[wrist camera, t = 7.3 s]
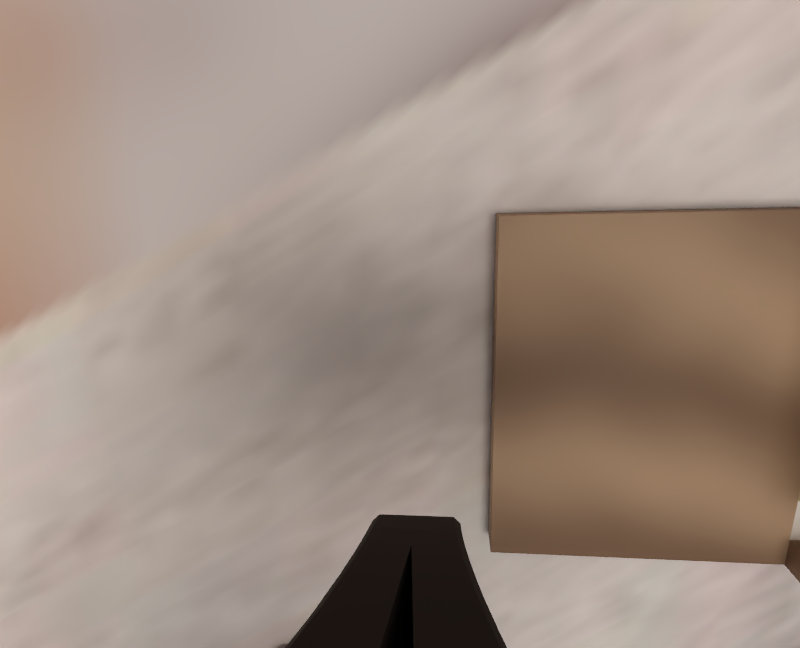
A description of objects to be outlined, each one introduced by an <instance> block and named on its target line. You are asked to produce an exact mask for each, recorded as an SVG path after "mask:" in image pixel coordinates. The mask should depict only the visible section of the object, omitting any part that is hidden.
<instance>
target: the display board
mask: <svg viewBox="0 0 800 648" xmlns="http://www.w3.org/2000/svg"><path fill="white" fill-rule="evenodd" d="M799 494H800V207H781V208H733V209H685V210H637V211H589V212H541V213H496V251H495V293H494V335H493V378H492V420H491V463H490V505H489V540H490V550H491V552H503V553H526V554H550V555H573V556H596V557H620V558H643V559H667V560H690V561H713V562H737V563H760V564H784V565H785V566H786V567H787V568H788V569H789V570H790V572H791V573H792V574H793V575H794V576H795V577H796V579H797V580H798V581H799V582H800V502H799V501H798V499H799Z"/></svg>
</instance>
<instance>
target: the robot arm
mask: <svg viewBox="0 0 800 648" xmlns="http://www.w3.org/2000/svg"><path fill="white" fill-rule="evenodd" d="M285 648H507V647H506V645H505V643H504V641H503V639H502V637H501V635H500V633H499V631H498V628H497V626H496V624H495V622H494V619H493V617H492V615H491V613H490V611H489V608H488V606H487V604H486V602H485V599H484V597H483V595H482V592H481V590H480V587H479V585H478V582H477V580H476V577H475V575H474V572H473V569H472V566H471V564H470V561H469V558H468V555H467V551H466V548H465V545H464V541H463V537H462V532H461V525H460V523H459V522H458V521H457V520H456V519H455V518H454V517H435V516H407V515H379V516H377V517H376V518H375V519H374V520H373V521H372V523H371V525H370V527H369V529H368V531H367V532H366V534H365V536H364V538H363V539H362V541H361V543H360V544H359V546H358V548H357V549H356V551H355V552H354V554H353V556H352V557H351V559H350V560H349V562H348V563H347V565H346V566H345V568H344V569H343V571H342V572H341V574H340V575H339V577H338V578H337V580H336V581H335V582H334V584H333V585H332V587H331V588H330V589H329V591H328V592H327V594H326V595H325V596H324V598H323V599H322V601H321V602H320V604H319V605H318V606H317V608H316V609H315V610H314V612H313V613H312V615H311V616H310V617H309V618H308V620H307V621H306V622H305V624H304V625H303V626H302V627H301V629H300V630H299V631H298V632H297V634H296V635H295V636H294V637H293V639H292V640H291V641H290V642H289V644H288V645H287V646H286V647H285Z"/></svg>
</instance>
